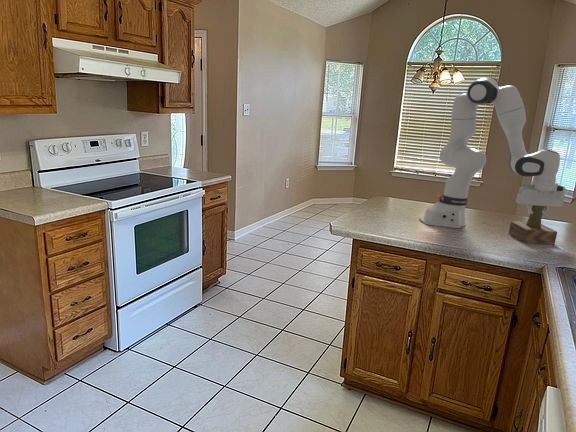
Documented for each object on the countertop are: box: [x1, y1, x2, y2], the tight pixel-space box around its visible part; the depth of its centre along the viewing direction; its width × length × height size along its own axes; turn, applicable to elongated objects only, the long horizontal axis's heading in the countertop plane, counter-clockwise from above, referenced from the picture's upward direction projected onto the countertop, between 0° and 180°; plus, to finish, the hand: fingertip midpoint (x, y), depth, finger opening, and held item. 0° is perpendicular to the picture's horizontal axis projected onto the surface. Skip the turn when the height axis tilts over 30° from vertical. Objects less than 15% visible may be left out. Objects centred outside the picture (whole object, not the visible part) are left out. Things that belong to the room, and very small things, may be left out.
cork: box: [526, 205, 544, 228], centre depth 196 cm, size 6×6×11 cm
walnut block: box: [508, 221, 558, 245], centre depth 197 cm, size 14×14×6 cm
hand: (536, 214), depth 195 cm, fingers open, 4 cm apart
